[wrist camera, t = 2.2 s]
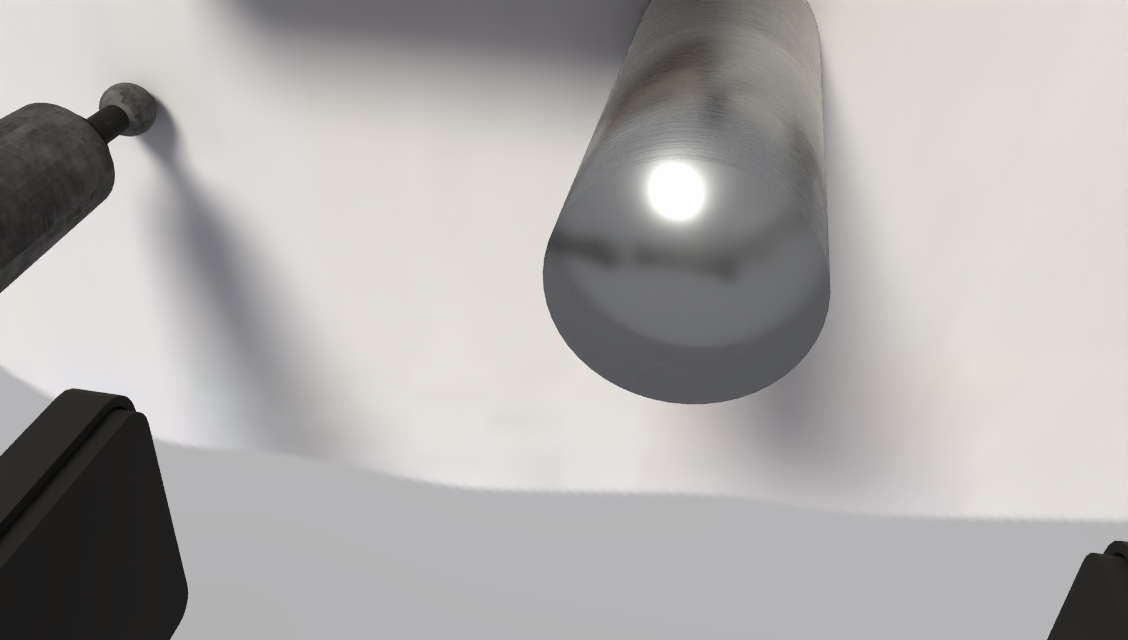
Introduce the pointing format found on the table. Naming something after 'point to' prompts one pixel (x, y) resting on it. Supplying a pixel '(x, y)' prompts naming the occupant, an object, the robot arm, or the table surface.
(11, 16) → the table surface
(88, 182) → the microphone
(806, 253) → the pin
